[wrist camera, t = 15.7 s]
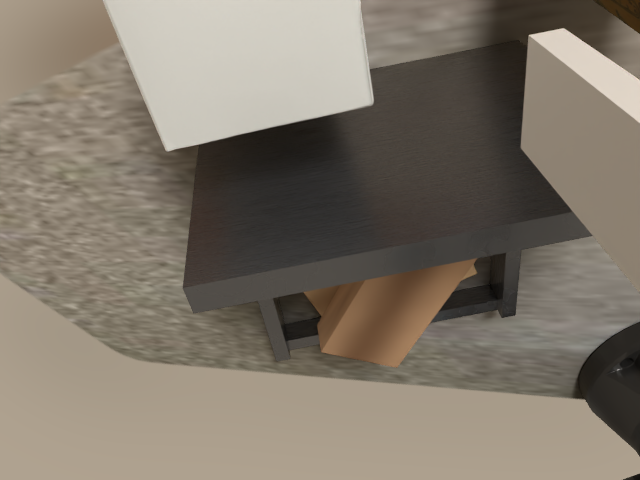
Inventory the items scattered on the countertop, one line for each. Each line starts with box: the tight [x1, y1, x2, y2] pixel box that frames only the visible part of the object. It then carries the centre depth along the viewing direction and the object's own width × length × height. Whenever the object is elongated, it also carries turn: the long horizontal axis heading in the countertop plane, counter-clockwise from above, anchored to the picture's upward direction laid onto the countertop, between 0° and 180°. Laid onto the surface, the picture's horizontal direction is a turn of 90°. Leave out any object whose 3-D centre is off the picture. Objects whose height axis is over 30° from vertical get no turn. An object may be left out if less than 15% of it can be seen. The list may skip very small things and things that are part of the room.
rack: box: [183, 40, 593, 361], centre depth 37 cm, size 23×21×18 cm
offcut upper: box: [317, 258, 478, 368], centre depth 44 cm, size 7×13×3 cm, turn 157°
